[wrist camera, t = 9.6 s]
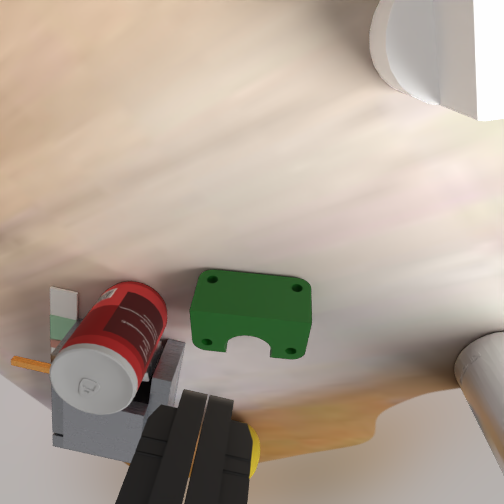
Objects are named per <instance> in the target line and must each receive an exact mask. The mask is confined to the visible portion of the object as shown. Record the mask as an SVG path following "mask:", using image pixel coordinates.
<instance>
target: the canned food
mask: <svg viewBox="0 0 504 504" xmlns="http://www.w3.org/2000/svg"><path fill="white" fill-rule="evenodd" d="M166 323H167V308H166V304H165V302H164V300H163V298H162V297H161V296H160V295H159V293H157V292H156V291H155V290H154V289H152V288H151V287H149V286H147V285H145V284H143V283H139V282H132V281H128V282H121V283H118V284H116V285H114V286H112V287H111V288H109V289H107V290H106V291H105V292H104V293H103V294H102V296H101V297H100V298H99V300H98V301H97V302H96V304H95V305H94V306H93V307H92V309H91V310H90V311H89V313H88V314H87V315H86V317H85V318H84V319H83V321H82V322H81V323H80V325H79V326H78V327H77V329H76V330H75V331H74V332H73V334H72V335H71V336H70V338H69V339H68V340H67V342H66V343H65V344H64V346H63V347H62V349H61V350H60V351H59V353H58V354H57V356H56V357H55V359H54V361H53V362H52V364H51V367H50V371H49V377H50V381H51V384H52V386H53V388H54V390H55V391H56V393H57V394H58V395H59V396H60V397H61V398H62V399H63V400H64V401H65V402H66V403H68V404H69V405H71V406H73V407H74V408H76V409H78V410H81V411H84V412H87V413H91V414H99V415H104V414H112V413H116V412H119V411H121V410H123V409H124V408H126V407H127V406H128V405H129V404H130V403H131V402H132V400H133V398H134V397H135V395H136V392H137V390H138V388H139V386H140V384H141V382H142V380H143V377H144V375H145V373H146V370H147V368H148V366H149V363H150V361H151V359H152V356H153V354H154V352H155V350H156V347H157V345H158V343H159V340H160V338H161V336H162V333H163V331H164V329H165V326H166Z"/></svg>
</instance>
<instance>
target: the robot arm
mask: <svg viewBox="0 0 504 504" xmlns="http://www.w3.org/2000/svg"><path fill="white" fill-rule="evenodd" d="M454 373H455V377H456V379H457V381H458V383H459V386H460V388H461V389H462V391H463V393H464V395H465V398H466V400H467V402H468V404H469V406H470V408H471V410H472V412H473V414H474V416H475V418H476V420H477V422H478V424H479V426H480V428H481V430H482V432H483V434H484V436H485V438H486V440H487V442H488V444H489V446H490V448H491V450H492V452H493V454H494V456H495V458H496V460H497V463H498V465H499V467H500V469H501V471H502V472H503V475H504V332H497V333H493V334H489V335H486V336H484V337H481V338H479V339H477V340H475V341H474V342H472V343H470V344H469V345H468V346H467V347H466V348H464V349H463V351H462V352H461V353H460V354H459V356H458V358H457V360H456V362H455V367H454ZM207 395H208V394H203V393H199V392H194V391H190V390H185V389H184V390H183V393H182V396H181V399H180V402H179V406H178V408H175V407H171V406H166V405H162V404H161V405H160V406H159V407H158V408H157V409H156V410H155V411H154V412H153V413H152V414H151V415H150V416H149V417H148V419H147V422H146V424H145V427H144V429H143V432H142V435H141V438H140V440H139V443H138V445H137V448H136V451H135V454H134V456H133V458H132V461H131V464H130V466H129V469H128V472H127V475H126V477H125V479H124V482H123V485H122V487H121V490H120V492H119V495H118V498H117V500H116V503H115V504H182V501H183V497H184V493H185V489H186V485H187V480H188V476H189V472H190V468H191V463H192V459H193V455H194V451H195V446H196V442H197V438H198V434H199V429H200V425H201V421H202V417H203V412H204V408H205V404H206V400H207ZM233 402H234V400H230V399H226V398H221V397H217V396H213V395H210V396H209V400H208V405H207V409H206V413H205V417H204V421H203V425H202V429H201V434H200V438H199V442H198V446H197V451H196V455H195V459H194V464H193V468H192V472H191V477H190V481H189V486H188V490H187V494H186V499H185V503H184V504H247V500H248V490H249V476H250V468H251V457H252V447H253V440H252V436H251V433H250V430H249V427H248V424H247V423H242V422H238V421H234V420H231V416H232V410H233Z"/></svg>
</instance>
